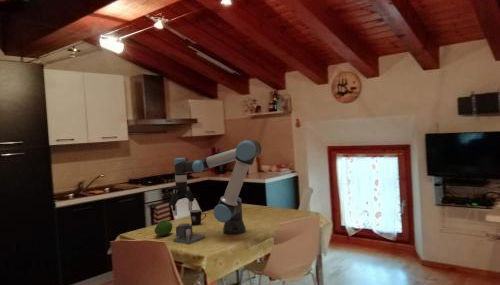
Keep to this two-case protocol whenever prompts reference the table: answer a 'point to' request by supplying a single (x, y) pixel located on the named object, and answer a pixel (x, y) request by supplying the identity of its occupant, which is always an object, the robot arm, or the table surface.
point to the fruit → (163, 228)
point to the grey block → (183, 229)
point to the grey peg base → (189, 238)
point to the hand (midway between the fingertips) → (183, 213)
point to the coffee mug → (196, 217)
